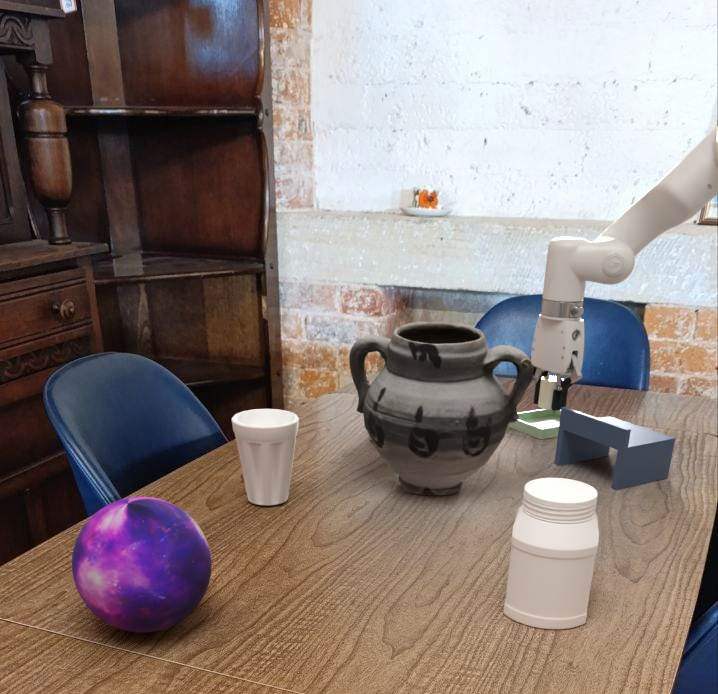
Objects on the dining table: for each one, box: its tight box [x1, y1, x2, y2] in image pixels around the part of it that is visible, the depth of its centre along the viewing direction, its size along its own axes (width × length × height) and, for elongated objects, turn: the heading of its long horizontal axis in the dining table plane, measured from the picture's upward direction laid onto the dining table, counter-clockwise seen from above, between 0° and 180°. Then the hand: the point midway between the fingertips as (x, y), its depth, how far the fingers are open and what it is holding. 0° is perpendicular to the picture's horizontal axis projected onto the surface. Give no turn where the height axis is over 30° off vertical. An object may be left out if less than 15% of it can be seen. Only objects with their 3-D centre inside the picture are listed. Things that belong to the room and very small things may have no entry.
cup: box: [231, 408, 300, 506], centre depth 133 cm, size 10×10×13 cm
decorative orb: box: [71, 496, 212, 633], centre depth 97 cm, size 15×15×15 cm
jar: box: [502, 477, 600, 630], centre depth 103 cm, size 12×10×15 cm
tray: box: [507, 408, 561, 440], centre depth 173 cm, size 13×11×2 cm
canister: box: [537, 375, 565, 410], centre depth 170 cm, size 4×4×6 cm
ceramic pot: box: [348, 321, 534, 496], centre depth 137 cm, size 29×23×25 cm
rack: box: [553, 406, 676, 491], centre depth 149 cm, size 12×15×10 cm
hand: (549, 405), depth 172 cm, fingers closed on canister, 4 cm apart
